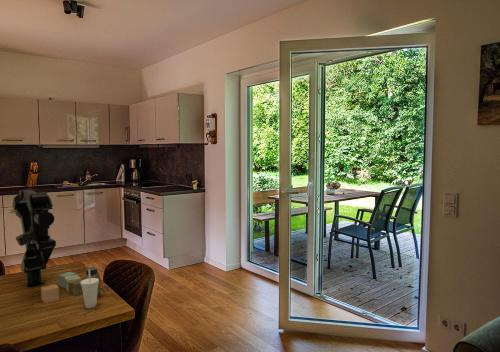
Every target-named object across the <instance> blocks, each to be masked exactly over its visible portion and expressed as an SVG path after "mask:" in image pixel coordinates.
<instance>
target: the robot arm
mask: <svg viewBox="0 0 500 352" xmlns="http://www.w3.org/2000/svg"><path fill="white" fill-rule="evenodd" d="M53 206H54V204H53V202H52V199H51V197H50V195H49V194H48V193H47V192H37V191H35V190H34V189H31V188H28V189H27V188H26V189H20V190H19V192H18V194H17V195H15V196H14V197H13V200H12V210H13V211H14V213H15V216H17V217H18V218H19V219H20V222H21V223H20V224H21V228H22V234H21V233H20V235H18V236H16V237H15V240H16V242H17V244H18V245H19V246H20V247H22V246H25V251H24V253H23V256H22V261H21V263H20V269H21V270H20V271H21V272H22V273H23V274H26V276H25V277H26V281H25V282H24V284H25V286H26V287H27V288H31V287H35V286H40V285H43V284H45V281H44V280H43V278H42V275H43V274H42V270H46V268H47V264H48V263H49V261H50V258H51V255H52V253H53V251H54V249H55V248H56V246H57V241H56V240H55V239H54V238H51V236H50V235H49V229H51V228H50V226H52V225H53V224H54V222H55V216H54V214H53V213H52V212H50V211H49V210H53Z"/></svg>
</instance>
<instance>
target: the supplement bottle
mask: <svg viewBox="0 0 500 352" xmlns="http://www.w3.org/2000/svg"><path fill="white" fill-rule="evenodd" d="M85 269H86V270H85V271H86V273H85V274H84V275H83V280H85V279H89V271H88V270H90V278H97V279H99V283H98V291H97V298H99V297H100V296H101V294H102V293H101V274H100V273H99V272H98V268H97V267H95V266H93V267H88V268H85Z"/></svg>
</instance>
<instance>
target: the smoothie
mask: <svg viewBox="0 0 500 352" xmlns="http://www.w3.org/2000/svg"><path fill="white" fill-rule="evenodd" d="M88 271H89V279H85V280H84V279H83V280H82V281H81V282H80V283H81V284H80V285H81V286H82V291H83V294H82V295H83V301H84V306H85V307H84V308H86V309H94V308H96V307H97V302H98V301H97V299H98V297H97V291H98V283H99V279H97V278H90V270H88Z"/></svg>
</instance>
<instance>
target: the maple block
mask: <svg viewBox="0 0 500 352" xmlns="http://www.w3.org/2000/svg"><path fill="white" fill-rule="evenodd" d="M80 278H81V277H80V276H79V274H77V275H75V276H69V277H65V287H66V288H65V291H66V292H67V293H69V287H68V282H70V281H73V280H76V279H80Z"/></svg>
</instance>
